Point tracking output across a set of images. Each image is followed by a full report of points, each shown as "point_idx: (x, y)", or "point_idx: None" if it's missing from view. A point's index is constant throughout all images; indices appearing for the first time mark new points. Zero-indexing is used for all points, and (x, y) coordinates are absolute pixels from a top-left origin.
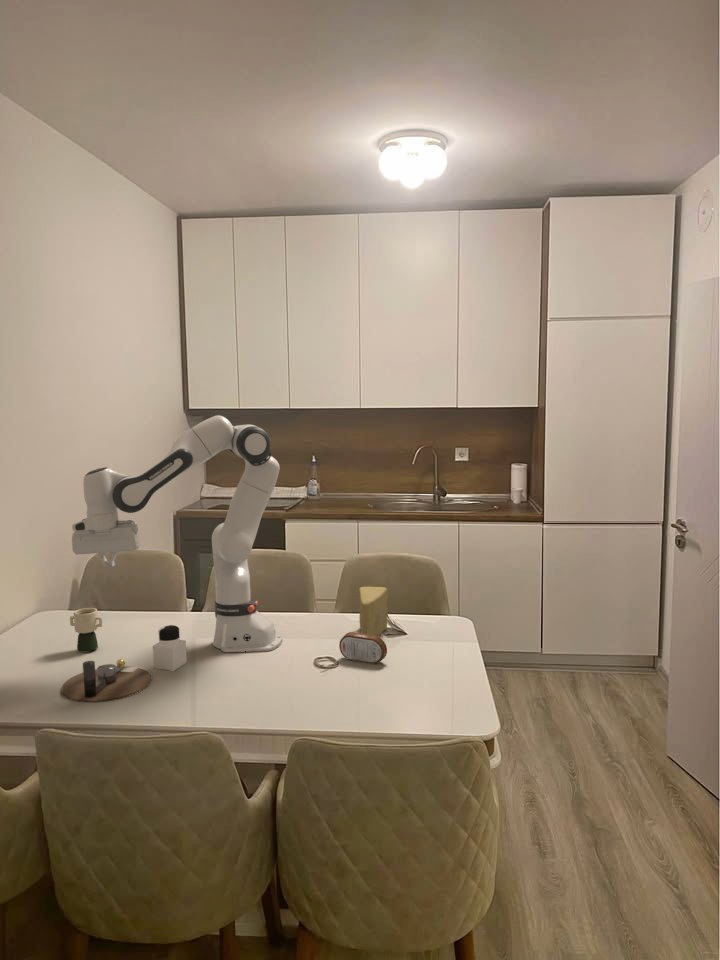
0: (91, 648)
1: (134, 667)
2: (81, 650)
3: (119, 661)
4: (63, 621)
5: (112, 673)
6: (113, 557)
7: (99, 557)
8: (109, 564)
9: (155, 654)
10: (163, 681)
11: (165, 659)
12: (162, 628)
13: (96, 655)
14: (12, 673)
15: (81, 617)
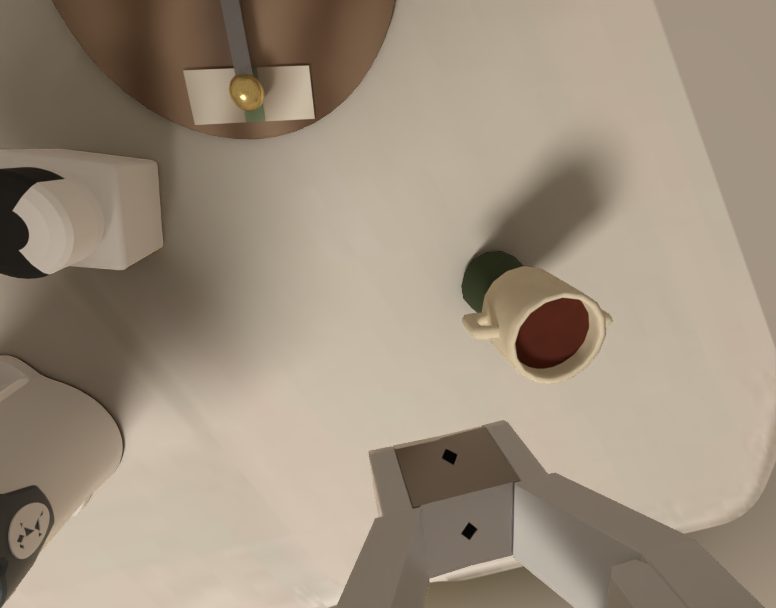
0: (471, 268)
1: (208, 121)
2: (499, 252)
3: (241, 77)
4: (662, 465)
5: None
6: (343, 595)
7: (656, 528)
8: (417, 460)
9: (117, 160)
10: (16, 26)
11: (72, 153)
12: (22, 203)
13: (439, 244)
14: (646, 22)
15: (549, 288)
